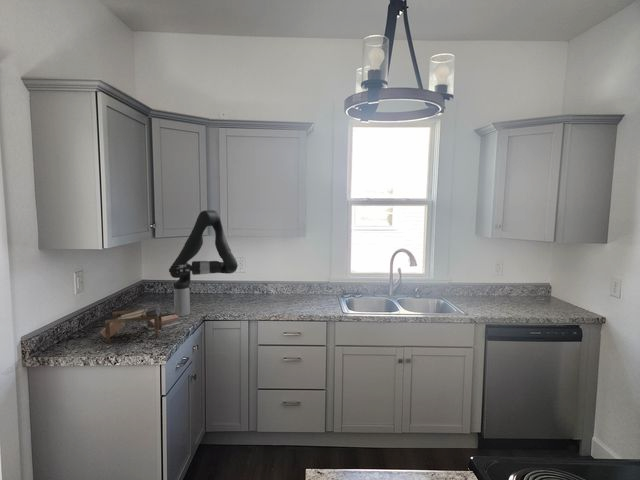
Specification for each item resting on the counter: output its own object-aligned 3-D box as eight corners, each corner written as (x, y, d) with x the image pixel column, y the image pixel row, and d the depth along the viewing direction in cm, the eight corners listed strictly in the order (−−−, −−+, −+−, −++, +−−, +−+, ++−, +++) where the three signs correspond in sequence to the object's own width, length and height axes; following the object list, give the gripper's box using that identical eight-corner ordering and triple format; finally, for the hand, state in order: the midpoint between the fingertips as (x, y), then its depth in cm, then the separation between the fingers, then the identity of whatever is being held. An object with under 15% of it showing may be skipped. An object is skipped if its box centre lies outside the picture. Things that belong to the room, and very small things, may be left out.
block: (125, 323, 193) (109, 336, 192) (119, 316, 192) (102, 329, 190) (123, 326, 189) (107, 339, 187) (116, 319, 187) (100, 332, 186)
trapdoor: (124, 321, 197) (121, 313, 196) (160, 310, 202) (158, 303, 202) (118, 329, 184) (116, 320, 184) (158, 317, 190) (155, 309, 189)
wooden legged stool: (114, 332, 198) (113, 311, 197) (161, 328, 205) (161, 308, 204) (106, 343, 181) (104, 320, 180) (158, 338, 189) (157, 316, 188)
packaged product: (174, 312, 220) (181, 316, 213) (174, 320, 221) (181, 324, 214) (143, 318, 208) (149, 322, 201) (143, 327, 208) (150, 331, 201)
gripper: (200, 259, 211) (170, 260, 206) (200, 262, 197) (168, 264, 192) (201, 272, 211) (171, 273, 206) (201, 276, 198) (168, 278, 193)
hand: (169, 269), depth 199 cm, fingers open, 8 cm apart
